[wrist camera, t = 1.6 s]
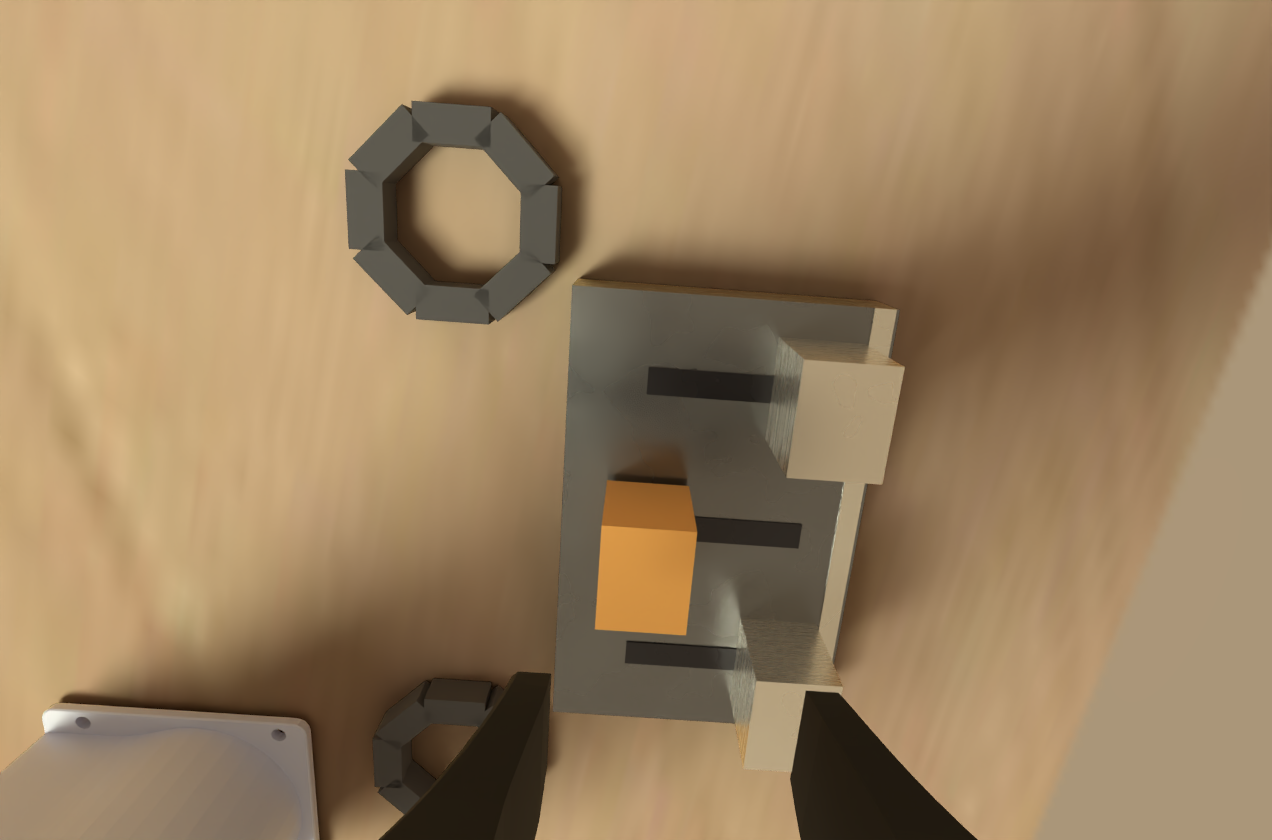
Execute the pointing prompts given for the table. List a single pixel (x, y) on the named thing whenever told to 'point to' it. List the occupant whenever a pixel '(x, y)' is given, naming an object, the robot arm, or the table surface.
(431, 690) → the coil
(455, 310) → the coil
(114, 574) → the table surface
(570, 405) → the breaker strip
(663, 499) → the orange breaker switch
